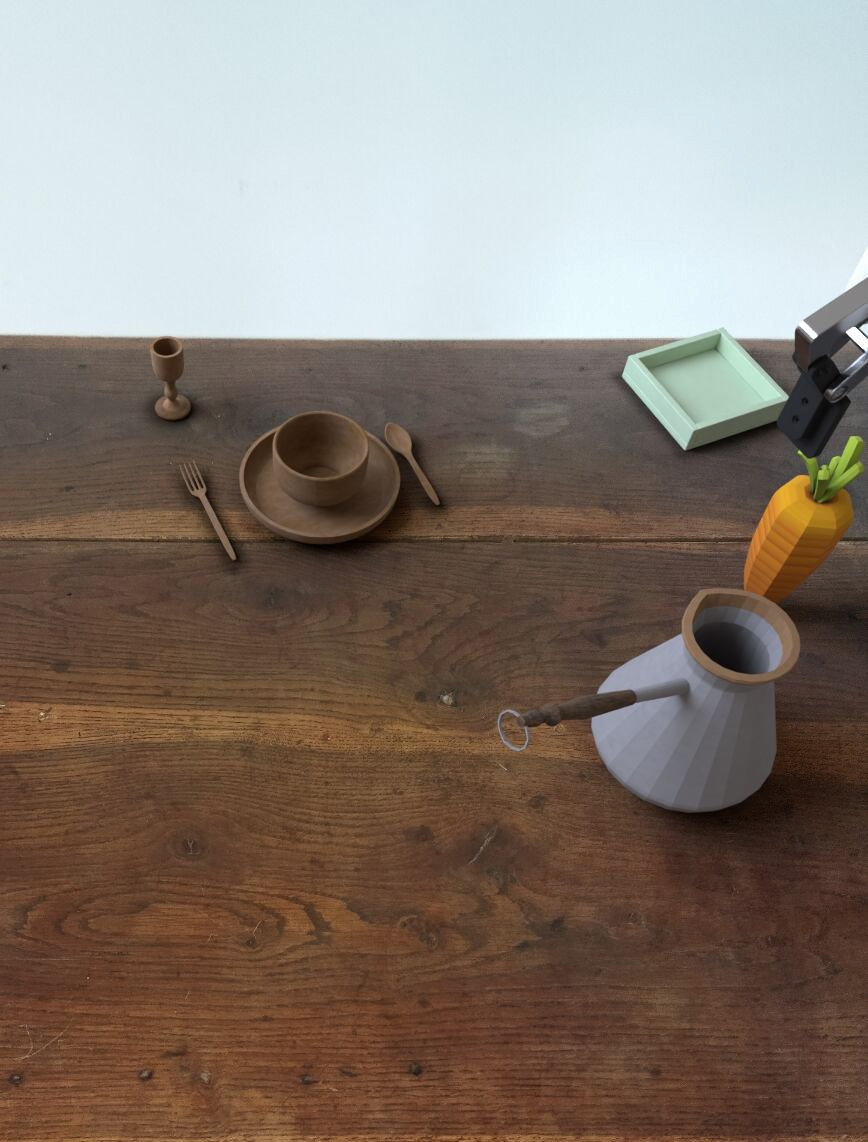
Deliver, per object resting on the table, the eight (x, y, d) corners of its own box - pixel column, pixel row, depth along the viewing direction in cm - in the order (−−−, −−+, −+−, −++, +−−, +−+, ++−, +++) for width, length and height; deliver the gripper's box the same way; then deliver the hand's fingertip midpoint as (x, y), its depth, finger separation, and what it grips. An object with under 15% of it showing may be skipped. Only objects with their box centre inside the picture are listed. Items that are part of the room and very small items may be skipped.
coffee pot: (684, 655, 74) (770, 501, 61) (795, 785, 69) (914, 648, 56) (418, 778, 68) (449, 638, 55) (517, 930, 63) (577, 814, 50)
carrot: (736, 643, 74) (833, 488, 61) (704, 589, 77) (790, 428, 64) (800, 627, 75) (908, 471, 62) (765, 574, 77) (863, 413, 65)
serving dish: (714, 347, 90) (723, 326, 88) (780, 419, 86) (791, 398, 84) (621, 376, 88) (628, 355, 86) (684, 451, 84) (693, 430, 82)
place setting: (237, 585, 76) (234, 528, 71) (143, 403, 85) (135, 341, 80) (456, 514, 80) (468, 455, 75) (343, 347, 89) (347, 285, 84)
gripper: (960, 199, 42) (782, 506, 57) (1270, 114, 46) (1028, 421, 61) (840, 101, 46) (701, 415, 60) (1137, 30, 50) (939, 340, 64)
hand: (865, 418), depth 61 cm, fingers open, 9 cm apart
